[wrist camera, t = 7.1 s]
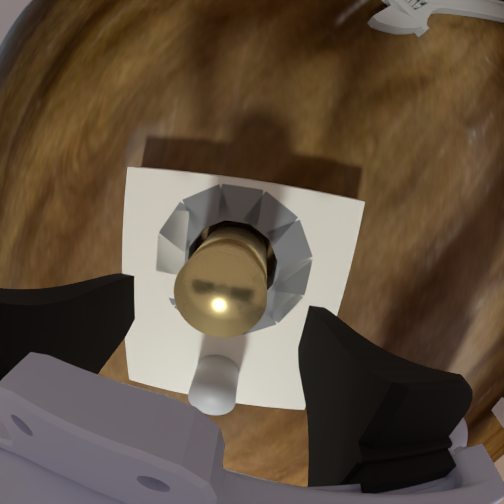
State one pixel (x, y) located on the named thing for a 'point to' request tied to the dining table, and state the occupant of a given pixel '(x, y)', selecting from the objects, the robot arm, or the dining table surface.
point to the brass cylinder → (224, 282)
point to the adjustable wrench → (425, 3)
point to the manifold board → (278, 283)
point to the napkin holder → (499, 411)
